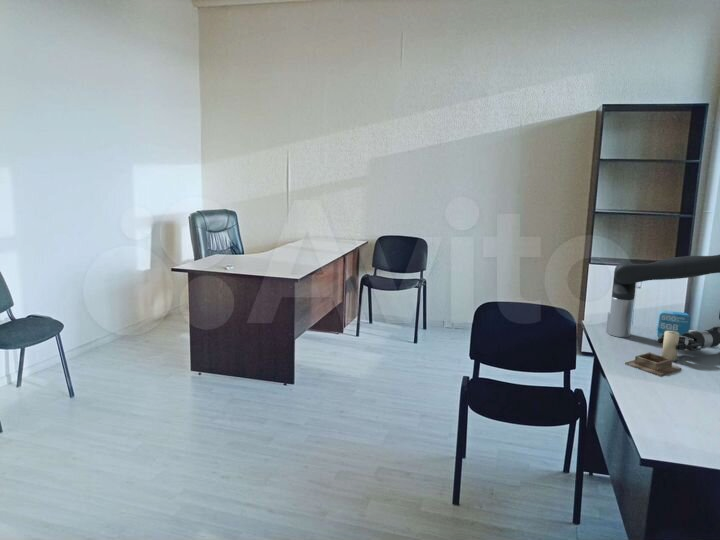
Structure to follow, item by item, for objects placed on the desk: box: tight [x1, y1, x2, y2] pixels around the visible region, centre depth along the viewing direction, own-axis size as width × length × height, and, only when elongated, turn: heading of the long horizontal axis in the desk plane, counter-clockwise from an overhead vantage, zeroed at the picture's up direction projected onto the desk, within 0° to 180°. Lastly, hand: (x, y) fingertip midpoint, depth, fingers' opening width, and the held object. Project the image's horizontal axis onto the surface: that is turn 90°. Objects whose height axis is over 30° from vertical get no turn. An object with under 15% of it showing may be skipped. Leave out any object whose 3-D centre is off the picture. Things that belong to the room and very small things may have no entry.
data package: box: [656, 310, 691, 339], centre depth 249 cm, size 12×4×12 cm, turn 66°
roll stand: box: [624, 352, 682, 377], centre depth 215 cm, size 14×14×4 cm
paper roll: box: [661, 331, 679, 362], centre depth 223 cm, size 5×5×11 cm
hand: (667, 344), depth 222 cm, fingers open, 8 cm apart
